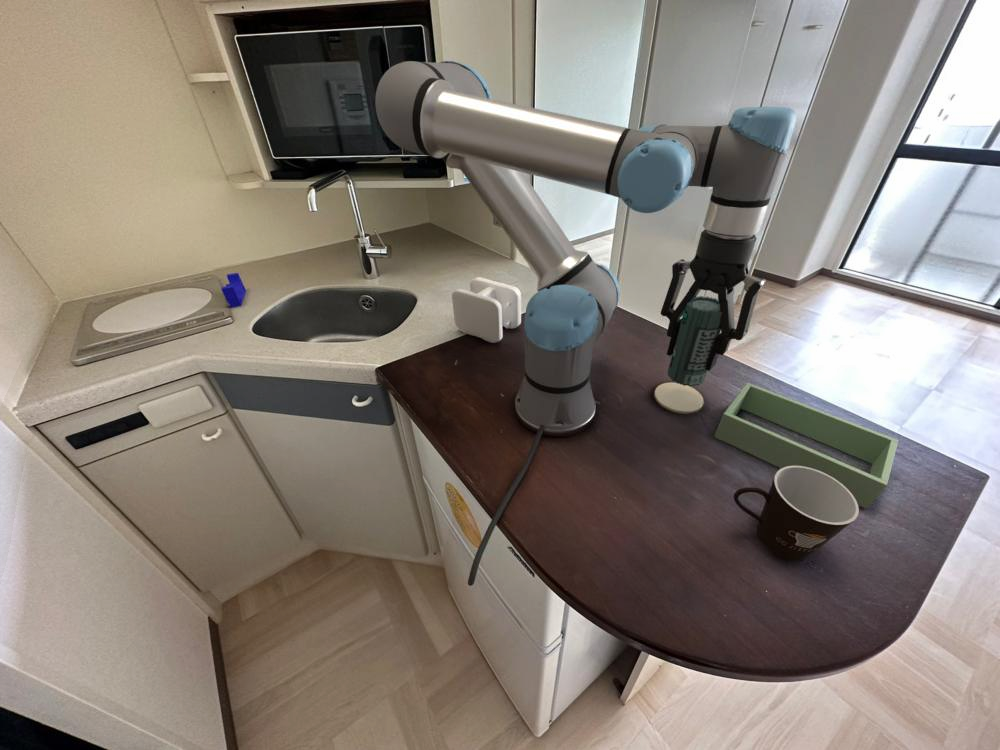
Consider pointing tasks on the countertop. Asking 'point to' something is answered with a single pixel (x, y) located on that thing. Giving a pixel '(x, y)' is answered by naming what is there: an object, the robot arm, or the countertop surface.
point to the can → (695, 341)
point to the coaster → (678, 398)
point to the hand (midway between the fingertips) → (690, 359)
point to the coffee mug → (801, 511)
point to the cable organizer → (487, 309)
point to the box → (815, 426)
